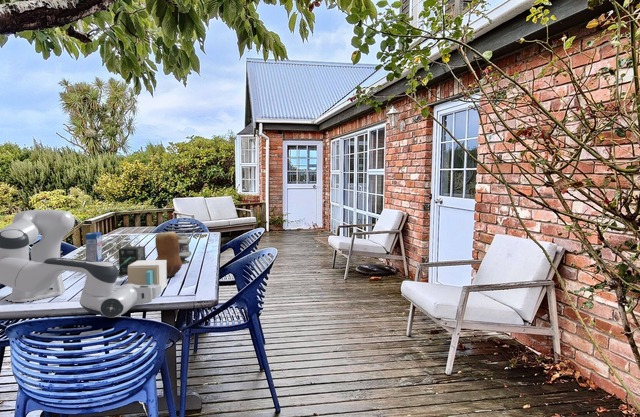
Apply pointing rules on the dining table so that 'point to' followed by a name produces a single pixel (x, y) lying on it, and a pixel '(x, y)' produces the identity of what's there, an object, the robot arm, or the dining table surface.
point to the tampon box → (130, 257)
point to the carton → (155, 263)
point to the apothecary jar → (184, 248)
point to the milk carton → (94, 246)
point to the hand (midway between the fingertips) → (141, 286)
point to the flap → (143, 275)
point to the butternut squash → (169, 251)
